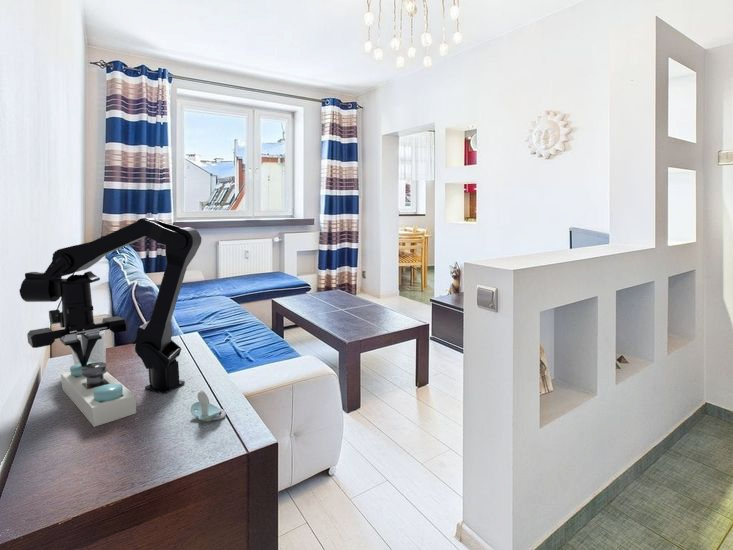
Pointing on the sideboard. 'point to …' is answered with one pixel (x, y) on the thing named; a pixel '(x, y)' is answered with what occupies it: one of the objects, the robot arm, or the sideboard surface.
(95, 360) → the white cup
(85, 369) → the pot dial
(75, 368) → the far knob
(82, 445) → the sideboard surface
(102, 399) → the near knob
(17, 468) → the sideboard surface
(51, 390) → the sideboard surface
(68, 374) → the knob housing
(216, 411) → the pacifier
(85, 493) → the sideboard surface
